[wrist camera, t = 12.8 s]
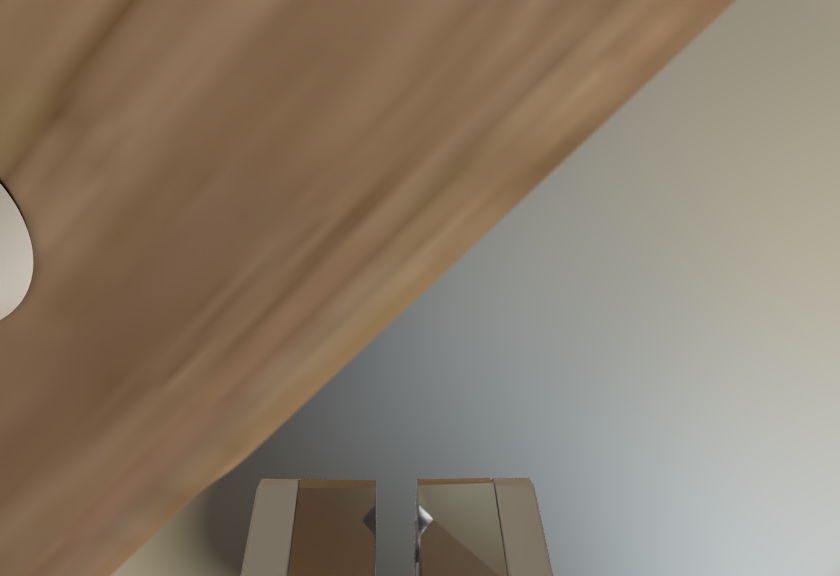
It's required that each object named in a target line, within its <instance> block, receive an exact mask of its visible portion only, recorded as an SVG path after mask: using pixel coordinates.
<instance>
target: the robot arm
mask: <svg viewBox="0 0 840 576" xmlns="http://www.w3.org/2000/svg"><path fill="white" fill-rule="evenodd" d="M32 272H33V251H32V245H31V240H30V237H29V233H28V230H27V228H26V225H25V222H24V220H23V218H22V216H21V214H20V212H19V210H18V208H17V207H16V205H15V203H14V202H13V200H12V199H11V197H10V196H9V194H8V193H7V191H6V190H5V189H4V188H3V186H2V185H1V184H0V320H1V319H3V318H4V317H6V316H7V315H9V314H10V313H11V312H12V311H13V310H14V309H15V308H16V307H17V306H18V305H19V304H20V302H21V301H22V300H23V298H24V296H25V295H26V293H27V290H28V288H29V285H30V282H31V278H32ZM416 487H417V488H416V521H415V536H414V576H553V573H552V568H551V563H550V558H549V554H548V549H547V544H546V540H545V535H544V530H543V526H542V521H541V516H540V511H539V507H538V502H537V497H536V493H535V488H534V484H533V483H532V481H531V480H530V478H494V479H492V480H491V479H490V478H461V479H417V486H416ZM241 576H376V481H375V480H326V479H324V480H322V479H301V480H300V479H261V481H260V484H259V486H258V488H257V491H256V497H255V502H254V508H253V513H252V519H251V524H250V529H249V535H248V540H247V546H246V551H245V557H244V562H243V568H242V573H241Z"/></svg>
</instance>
